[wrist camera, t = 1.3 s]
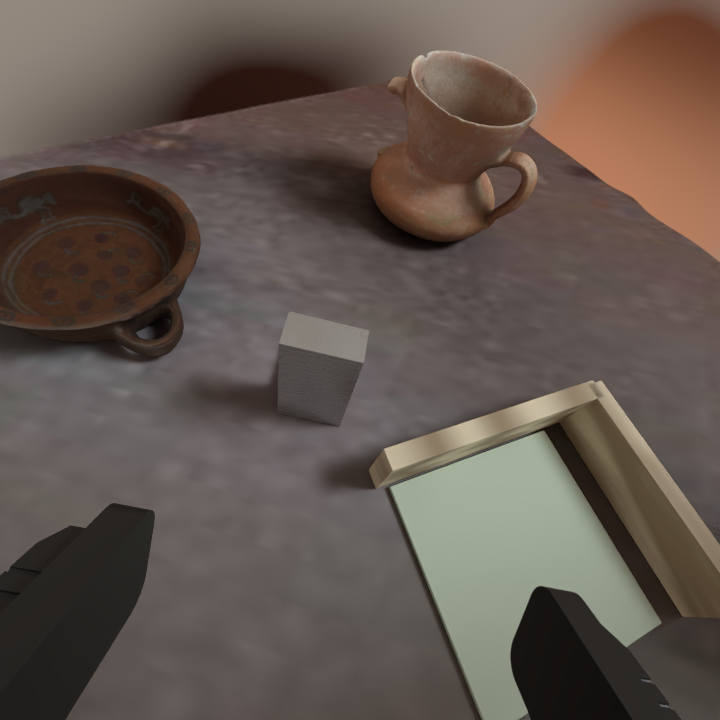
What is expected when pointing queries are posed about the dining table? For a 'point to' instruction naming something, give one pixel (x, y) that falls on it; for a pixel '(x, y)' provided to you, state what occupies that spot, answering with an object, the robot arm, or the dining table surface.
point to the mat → (512, 558)
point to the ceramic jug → (454, 147)
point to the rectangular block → (318, 367)
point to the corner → (609, 468)
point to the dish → (94, 255)
